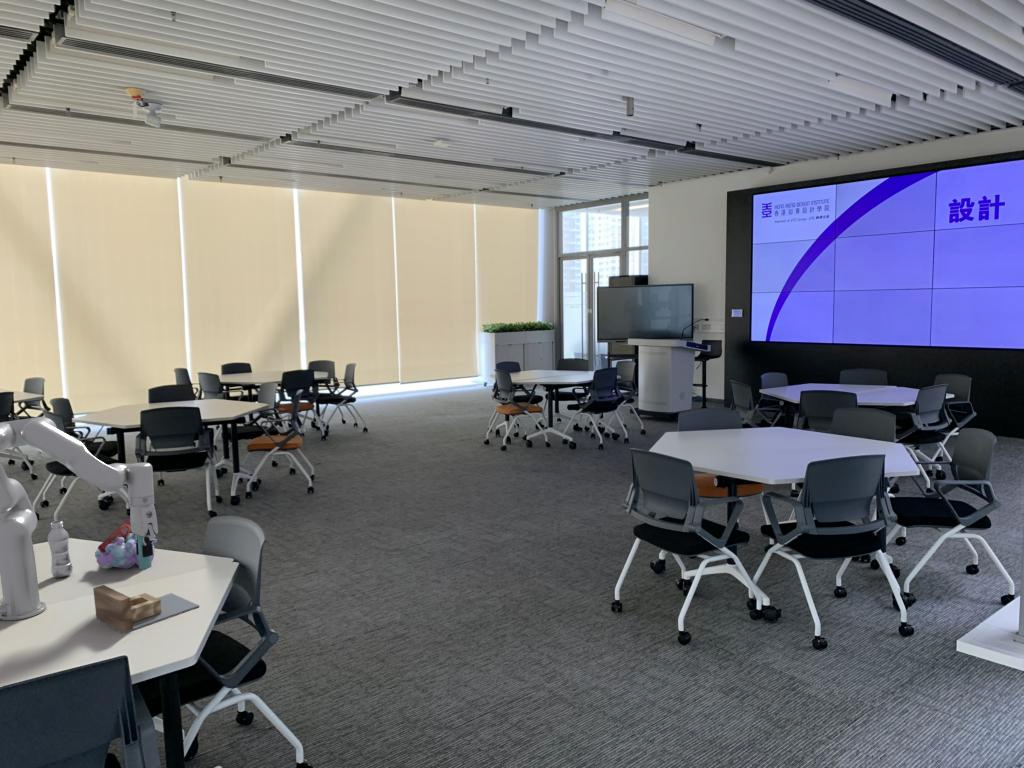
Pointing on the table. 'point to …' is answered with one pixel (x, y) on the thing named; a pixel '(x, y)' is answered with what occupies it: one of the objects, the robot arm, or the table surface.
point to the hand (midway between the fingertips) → (144, 554)
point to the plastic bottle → (59, 550)
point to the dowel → (143, 561)
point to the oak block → (144, 606)
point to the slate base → (164, 611)
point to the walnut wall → (113, 608)
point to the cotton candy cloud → (119, 549)
